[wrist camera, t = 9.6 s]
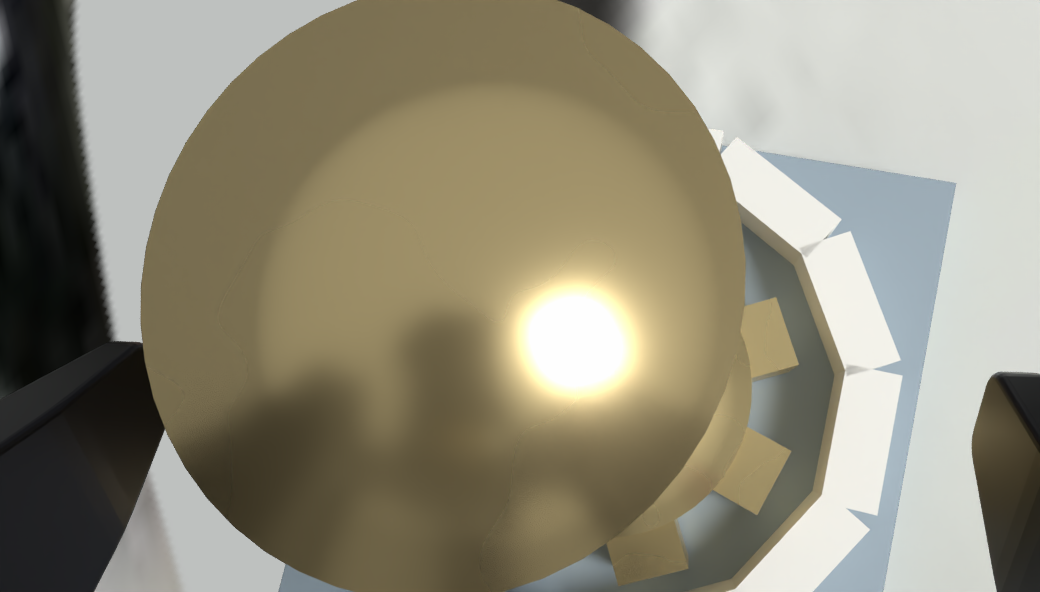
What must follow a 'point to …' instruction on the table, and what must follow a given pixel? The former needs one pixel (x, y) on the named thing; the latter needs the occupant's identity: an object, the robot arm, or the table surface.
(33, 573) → the robot arm
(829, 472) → the gear board
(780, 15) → the table surface
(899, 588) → the table surface
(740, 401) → the brass gear
